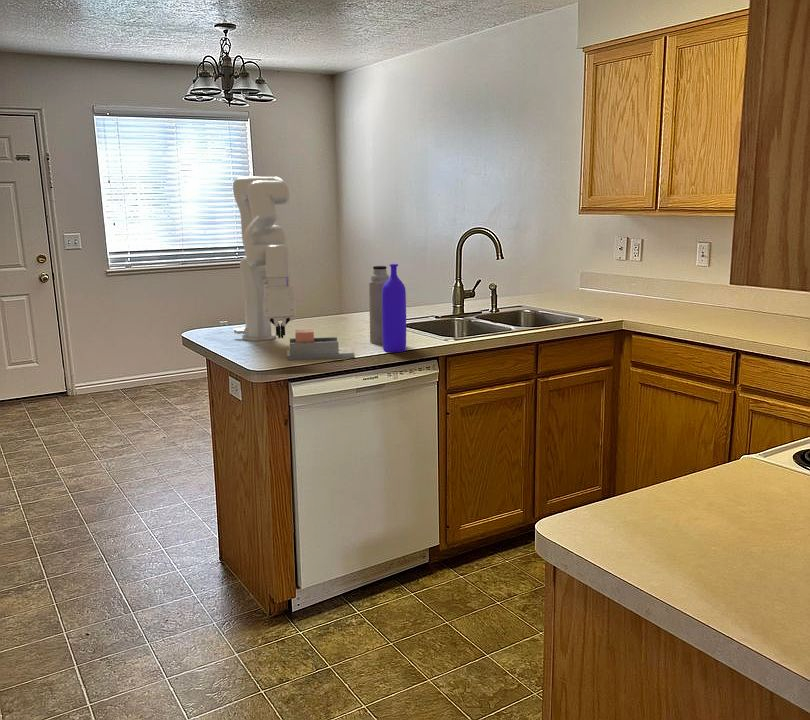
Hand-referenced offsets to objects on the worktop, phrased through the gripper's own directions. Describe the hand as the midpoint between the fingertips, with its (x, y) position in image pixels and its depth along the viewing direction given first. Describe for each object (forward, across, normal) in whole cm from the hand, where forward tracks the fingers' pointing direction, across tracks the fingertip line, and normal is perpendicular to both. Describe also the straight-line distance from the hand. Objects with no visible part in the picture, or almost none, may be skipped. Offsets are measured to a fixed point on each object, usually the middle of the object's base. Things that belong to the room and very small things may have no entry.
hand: (280, 337), depth 248 cm
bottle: (+7, +39, +6) cm, 40 cm away
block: (+5, +8, +1) cm, 9 cm away
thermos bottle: (+7, +36, +22) cm, 42 cm away
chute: (+7, +13, +1) cm, 15 cm away
